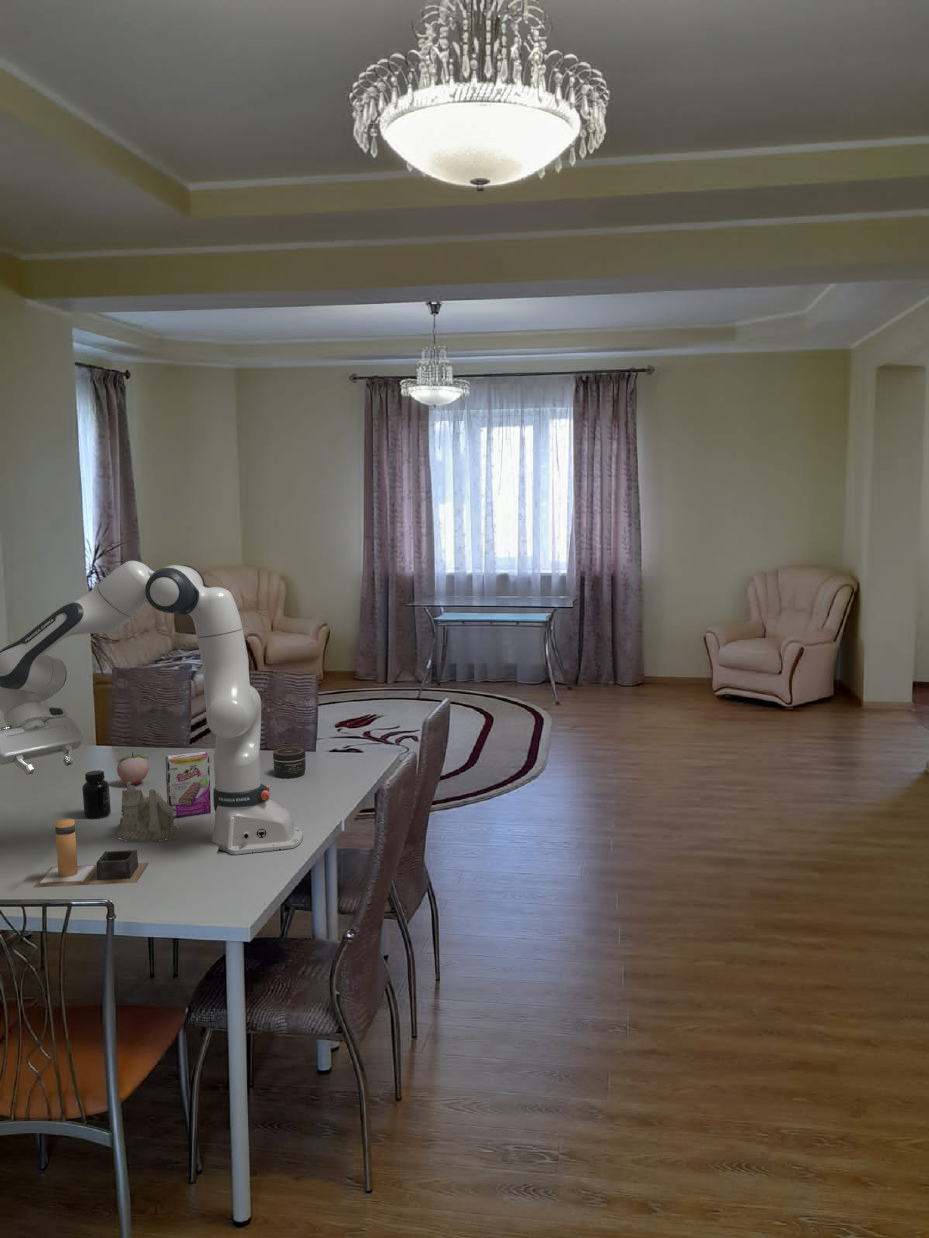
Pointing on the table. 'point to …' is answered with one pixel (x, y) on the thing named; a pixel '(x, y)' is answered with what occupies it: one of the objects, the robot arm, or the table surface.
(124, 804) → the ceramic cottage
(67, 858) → the orange cylindrical peg
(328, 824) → the table surface
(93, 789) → the supplement bottle
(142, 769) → the decorative fruit
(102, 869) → the board with square socket
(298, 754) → the jar
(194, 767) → the candy bar box
